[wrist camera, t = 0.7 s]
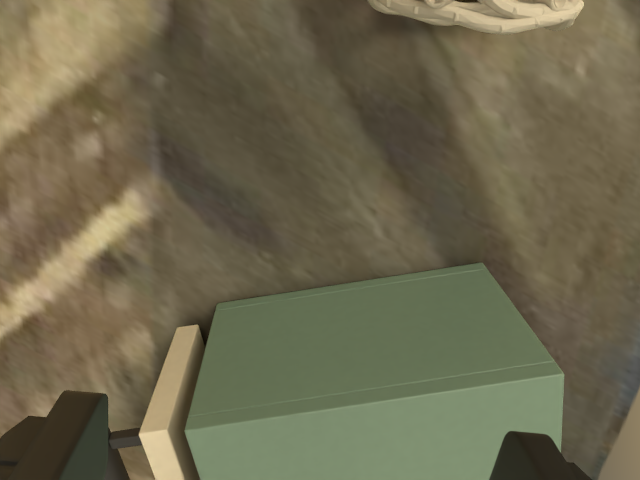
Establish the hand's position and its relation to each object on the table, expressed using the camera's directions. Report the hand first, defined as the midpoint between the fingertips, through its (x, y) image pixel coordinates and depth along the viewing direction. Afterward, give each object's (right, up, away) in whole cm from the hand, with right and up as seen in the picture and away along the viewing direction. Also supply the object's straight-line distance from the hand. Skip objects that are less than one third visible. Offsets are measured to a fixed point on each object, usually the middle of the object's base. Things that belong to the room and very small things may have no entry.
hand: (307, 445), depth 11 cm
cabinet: (+3, -3, +21) cm, 21 cm away
